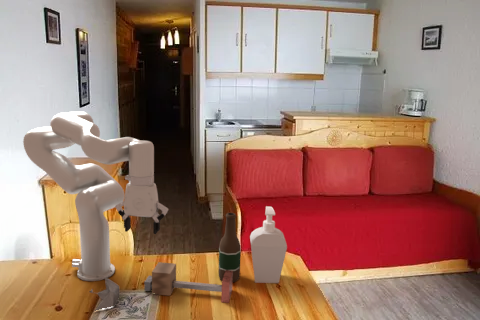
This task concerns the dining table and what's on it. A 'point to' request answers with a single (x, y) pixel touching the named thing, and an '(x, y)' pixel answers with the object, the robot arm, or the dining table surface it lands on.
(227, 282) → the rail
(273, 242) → the soap bottle
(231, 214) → the beer bottle
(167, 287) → the block
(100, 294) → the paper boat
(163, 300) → the dining table surface
